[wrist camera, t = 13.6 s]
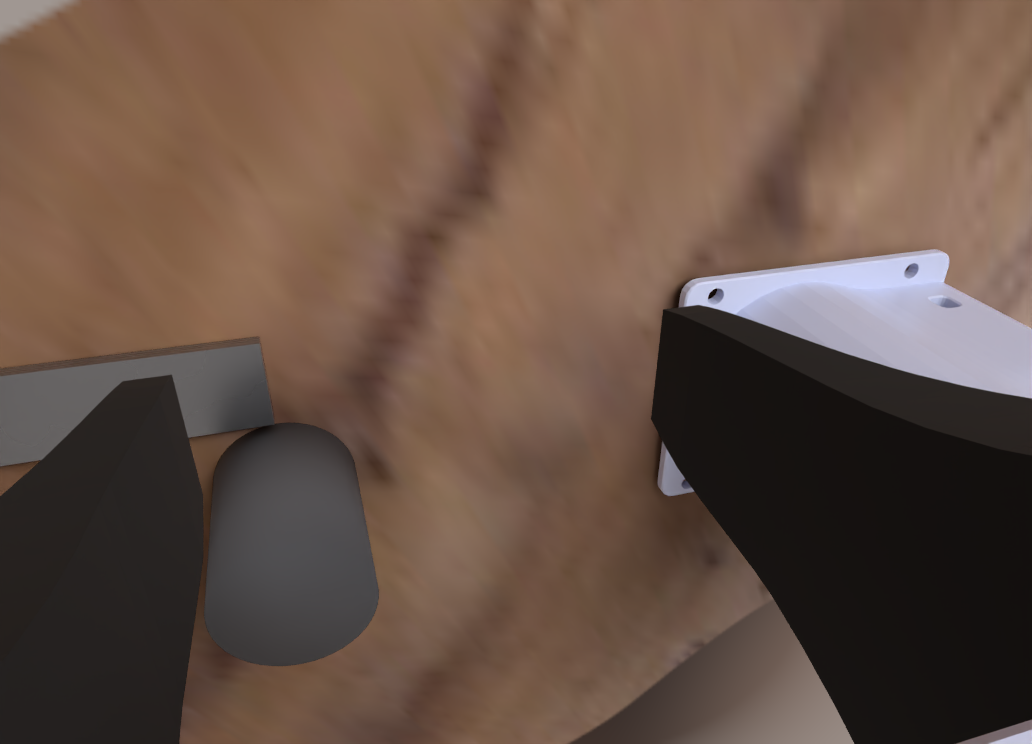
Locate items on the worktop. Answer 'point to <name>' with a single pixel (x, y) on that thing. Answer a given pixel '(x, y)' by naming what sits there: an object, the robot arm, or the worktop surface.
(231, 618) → the plug
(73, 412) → the rail
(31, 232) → the worktop surface
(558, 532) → the worktop surface
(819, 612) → the robot arm
